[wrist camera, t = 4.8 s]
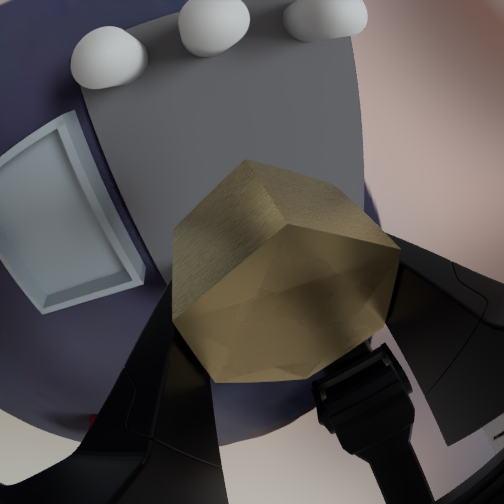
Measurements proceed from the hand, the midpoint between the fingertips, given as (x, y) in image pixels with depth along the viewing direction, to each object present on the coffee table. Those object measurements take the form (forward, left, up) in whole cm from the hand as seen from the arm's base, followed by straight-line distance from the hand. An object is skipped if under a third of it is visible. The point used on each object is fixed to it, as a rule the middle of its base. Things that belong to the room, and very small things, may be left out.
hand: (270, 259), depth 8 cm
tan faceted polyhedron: (0, 0, -1) cm, 1 cm away
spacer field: (0, -1, -11) cm, 11 cm away
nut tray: (0, +14, -11) cm, 18 cm away
